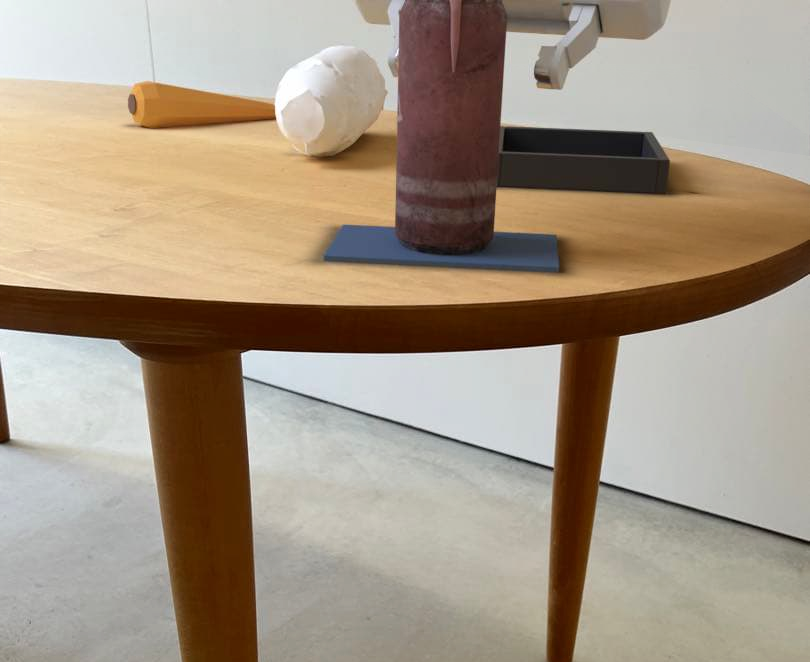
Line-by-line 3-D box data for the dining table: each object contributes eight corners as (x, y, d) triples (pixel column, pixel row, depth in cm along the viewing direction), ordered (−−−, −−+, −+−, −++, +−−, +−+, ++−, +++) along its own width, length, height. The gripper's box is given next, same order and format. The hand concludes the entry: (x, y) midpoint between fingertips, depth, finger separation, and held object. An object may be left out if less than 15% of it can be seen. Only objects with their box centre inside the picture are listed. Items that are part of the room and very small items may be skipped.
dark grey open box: (648, 164, 98) (652, 132, 96) (665, 196, 86) (670, 160, 84) (493, 157, 99) (495, 125, 97) (489, 188, 87) (491, 152, 85)
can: (404, 258, 66) (411, -5, 59) (388, 232, 71) (392, -11, 64) (504, 256, 67) (521, -3, 60) (480, 231, 72) (494, -9, 65)
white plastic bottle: (256, 169, 91) (251, 65, 88) (304, 132, 108) (302, 43, 104) (351, 174, 91) (350, 69, 87) (385, 136, 107) (386, 46, 103)
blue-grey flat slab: (555, 242, 72) (556, 234, 72) (558, 275, 65) (559, 266, 65) (342, 231, 73) (342, 224, 73) (323, 263, 66) (323, 255, 66)
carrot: (136, 138, 107) (143, 94, 104) (120, 113, 109) (126, 69, 106) (316, 144, 117) (327, 105, 114) (298, 122, 120) (309, 82, 117)
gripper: (373, -150, 71) (301, 28, 67) (695, -151, 63) (631, 49, 60) (401, -69, 76) (336, 98, 73) (699, -62, 69) (641, 125, 66)
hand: (472, 76), depth 67 cm, fingers open, 8 cm apart
